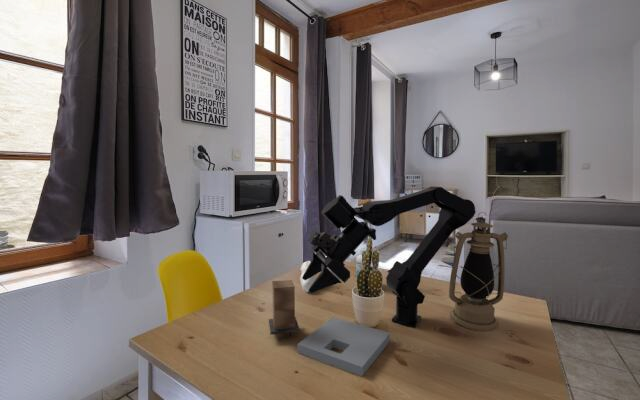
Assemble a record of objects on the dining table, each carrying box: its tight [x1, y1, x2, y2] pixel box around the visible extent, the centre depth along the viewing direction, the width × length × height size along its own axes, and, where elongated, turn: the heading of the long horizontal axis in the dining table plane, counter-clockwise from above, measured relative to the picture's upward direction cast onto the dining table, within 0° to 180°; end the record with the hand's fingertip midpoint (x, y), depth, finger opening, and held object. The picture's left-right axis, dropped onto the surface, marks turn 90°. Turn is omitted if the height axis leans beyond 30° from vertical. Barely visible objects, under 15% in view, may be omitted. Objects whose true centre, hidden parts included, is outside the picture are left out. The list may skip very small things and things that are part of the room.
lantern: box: [448, 211, 509, 332], centre depth 86 cm, size 14×12×30 cm
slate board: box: [296, 316, 391, 377], centre depth 75 cm, size 16×16×2 cm
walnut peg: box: [268, 279, 300, 338], centre depth 81 cm, size 7×7×13 cm
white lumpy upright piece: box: [299, 260, 318, 293], centre depth 113 cm, size 6×8×12 cm
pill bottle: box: [355, 247, 365, 280], centre depth 114 cm, size 8×7×14 cm
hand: (306, 285), depth 81 cm, fingers open, 9 cm apart
